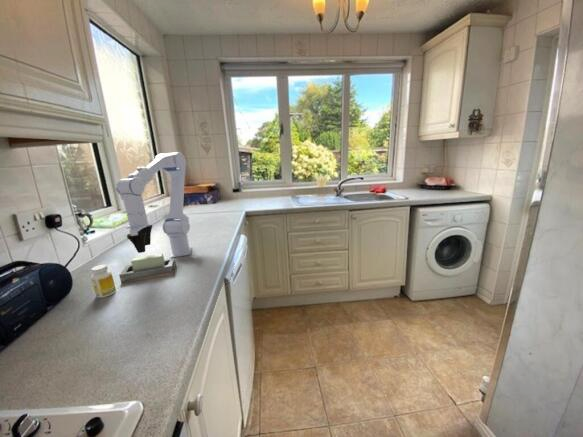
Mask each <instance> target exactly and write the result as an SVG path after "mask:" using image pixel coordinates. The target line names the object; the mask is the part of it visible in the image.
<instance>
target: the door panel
mask: <svg viewBox="0 0 583 437" xmlns="http://www.w3.org/2000/svg"><path fill="white" fill-rule="evenodd" d="M164 259H165V256H164V253H157V254H156V253H155V254H149V255H144V256H143V255H142V256H137V257H133V258H132V259H131V261H130V262H131V265H132V267H133V271H136V270H142V269H148V268H154V267H160V266H165V261H164Z"/></svg>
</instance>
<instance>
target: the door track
mask: <svg viewBox="0 0 583 437" xmlns="http://www.w3.org/2000/svg"><path fill="white" fill-rule="evenodd" d="M164 261H165V266H160V267H154V268H148V269H142V270H136V271H133V267H132V264H128V265H125V266H124V268H123V270H122V271H121V272H120V273H119V279H120V283H121V284H126V283H131V282H137V281H142V280H148V279H154V278H158V277H159V278H160V277H165V276H171V275H174V274H175V270H176V267H177V263H176V257H173V258H171V257H170V258H166V259H165V258H164Z"/></svg>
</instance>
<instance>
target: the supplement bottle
mask: <svg viewBox="0 0 583 437" xmlns="http://www.w3.org/2000/svg"><path fill="white" fill-rule="evenodd" d="M91 273H92V274H91V276H90V280H91V283H92V287H93V290H94V293H95V296H96V297H97V298H99V299H101V298H103V299H104V298H107V297H108V296H111V295H113V294H115V293H116V290H117V289H116V284H115V282H114V277H113V274H112V271H111V270H109V269H108V266H107V264H99V265H96V266H94V267H92V268H91Z"/></svg>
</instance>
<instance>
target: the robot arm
mask: <svg viewBox="0 0 583 437" xmlns="http://www.w3.org/2000/svg"><path fill="white" fill-rule="evenodd" d="M186 165H187V160H186V158H185V156H184V154H183V153H182V152H180V151H176V152H168V153H167V152H166V153H162V152H161V153H158V154H157V155H155V158H154V159H153V161H151V162H150V163H149V164H148V165H146V167H145V166H137V167H136V170H135V171H134V172H132V173H130V174H128V175H127V177H126V178H121V179H119V180H118V181H117V183H116V187H115V191H116V192H117V194H118V195H120V198H121V200H122V201H123V204H124V208H125V213H126V216H127V221H128V225H126V226H125V228H126V229H129V233H127V235H126V238H127V239H128V240H129V241H130V242H131V244H133V247H134V248H135V250H136V251H137V253H139V254H141V253H145V252H146V246H150V245H151V240H152V239H151V235H152V234H151V233H152V229H153V225H152V224H150V222H149V221H148V216H147V211H146V208H145V203H144V199H143V193H144V192H145V188H146V186H147V185H148V184H150V183H151V182H152V181H153V180H154V178H155V174H157V173H158V172H159V171H160V170H163V171H164V172H165V173H166V175H169V176H170V178H171V179H170V196H169V198H170V201H169V213H167V214H166V215H165V216H164V219H163V220H164V221H163V223H162V231H163V233H164V234H166V236H167V237H168V238H169V244H170V248H171V249H170V250H171V254H170V257H169V258H170V259H171V258H176V257H184V256H189V255H191V252H192V248H193V247H192V246H190V243H189V238H188V233H189V231H190V229H191V226H190V222H189V218H190V217H189V216H187V215H186V214H185V213H184V199H185V198H184V197H185V180H186V179H185V176H186V175H185V174H186V168H187V166H186Z"/></svg>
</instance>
